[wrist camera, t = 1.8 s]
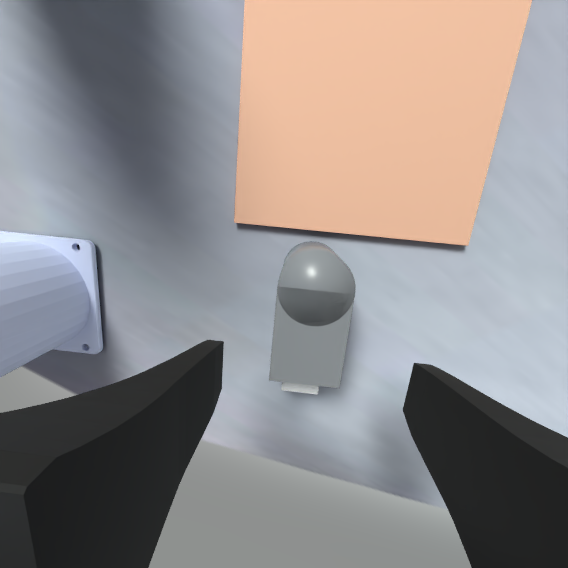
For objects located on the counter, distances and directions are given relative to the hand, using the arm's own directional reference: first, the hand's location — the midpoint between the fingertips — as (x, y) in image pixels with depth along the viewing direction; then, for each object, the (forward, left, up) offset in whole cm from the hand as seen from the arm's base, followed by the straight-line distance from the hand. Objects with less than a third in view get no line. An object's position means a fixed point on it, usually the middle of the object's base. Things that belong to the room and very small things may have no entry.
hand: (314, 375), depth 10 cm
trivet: (+2, +12, -8) cm, 15 cm away
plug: (0, 0, -8) cm, 8 cm away
